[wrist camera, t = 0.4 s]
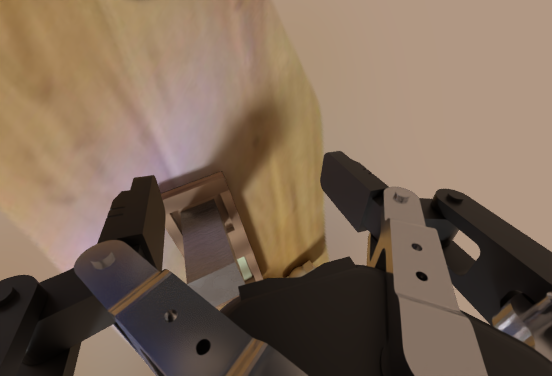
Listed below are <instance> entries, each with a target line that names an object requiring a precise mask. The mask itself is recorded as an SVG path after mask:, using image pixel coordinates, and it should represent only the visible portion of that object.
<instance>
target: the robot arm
mask: <svg viewBox="0 0 552 376" xmlns="http://www.w3.org/2000/svg"><path fill="white" fill-rule="evenodd" d="M320 183H321V187H322V189H323V191H324V192H325V193H326V194H327V196H328V197H329V198H330V199H331V201H332V202H333V203H334V204H335V205H336V207H337V208H338V209H339V210H340V211H341V213H342V214H343V215H344V216H345V218H346V219H347V220H348V221H349V222H350V223H351V225H352V226H353V227H354V228H355V230H356V231H357V232H362V231H366V230H368V231H369V232H370V233H369V236H368V248H367V266H364V265H355V264H354V262H353V261H352V260H351V258H350V257H346V258H342V259H338V260H334V261H331V262H327V263H324V264H322V265H321V266H319V267H317V268H315V269H314V270H312V271H310V272H309V273H307V274H305V275H303V276H301V277H292V278H267V279H263V280H260V281H256V282H252V283H249V284H245V285H241V286H238V290H239V296H238V297H237V298H235V299H233V300H232V301H231V302H229V303H228V304H226V305H225V306H224V307H223V308H222V309H221V310H220V311H219V310H218V309H216V308H215V307H214V306H213V305H211V304H210V303H209V302H208V301H207V300H205V299H204V298H203V297H202V296H200V295H199V294H198V293H197V292H195V291H194V290H193V289H192V288H190V287H189V286H188V285H187V284H185V283H184V282H183V281H182V280H181V279H179V278H178V277H177V276H176V275H174V274H173V273H172V272H170V271H169V270H167V269H164V270H163V271H162V262H163V248H164V234H165V220H166V213H165V207H164V203H163V200H162V197H161V193H160V190H159V187H158V184H157V181H156V178H155V176H154V175H151V176H144V177H136V178H134V179H133V182H132V186H131V189H130V190H129V191H122V192H121V193H120V194H119V195H118V196H117V197H116V198H115V199H114V200H113V202H112V205H111V208H110V211H109V213H108V216H107V217H108V218H107V219H106V221H105V224H104V227H103V229H102V232H101V235H100V238H99V240H98V243H97V244H96V245H94V246H92V247H91V248H89V249H87V250H86V251H85V252H84V253H82V254H81V255H80V257H79V258H78V259H77V261H76V262H75V265H74V268H72V269H71V270H68V271H66V272H64V273H61V274H59V275H57V276H54V277H52V278H49V279H47V280H45V281H42V282H40V283H39V282H38V281H37V280H36V279H35V278H34V277H32V276H29V275H18V276H14V277H10V278H7V279H4V280H1V281H0V376H73V375H74V370H75V366H76V362H77V357H78V354H79V350H80V346H81V342H82V341H83V340H85V339H87V338H89V337H91V336H92V335H94V334H96V333H98V332H100V331H101V330H103V329H105V328H107V327H109V326H111V325H112V324H113V325H114V326H115V327H116V328H117V329H118V331H119V332H120V333H121V334H122V335H123V336H124V338H125V339H126V340H127V341H128V342H129V344H130V345H131V346H132V347H133V348H134V349H135V351H136V352H137V353H138V354H139V355H140V356H141V358H142V359H143V360H144V361H145V363H146V364H147V365H148V366H149V368H150V369H151V370H152V371H153V373H154V374H155V375H156V376H552V252H551V251H549V250H547V249H546V248H545V247H543V246H542V245H540V244H539V243H537V242H536V241H534V240H533V239H531V238H530V237H528V236H527V235H525V234H524V233H522V232H520V231H519V230H518V229H516V228H515V227H513V226H512V225H510V224H509V223H507V222H506V221H504V220H503V219H501V218H500V217H498V216H497V215H495V214H494V213H492V212H491V211H489V210H488V209H486V208H485V207H483V206H482V205H480V204H479V203H477V202H476V201H474V200H473V199H471V198H470V197H468V196H467V195H465V194H463V193H461V192H458V191H455V190H451V189H439V190H438V191H436V194H435V195H434V197H433V199H423V198H419V197H418V196H417V195H416V194H415V193H413V192H412V191H410V190H407V189H404V188H401V187H388V186H387V185H386V184H385V183H383V182H382V181H381V180H380V179H379V178H377V177H376V176H375V175H374V174H372V173H371V172H370V171H369V170H366V168H365V167H364V166H362V165H361V164H360V163H358V162H356V161H354V160H352V159H350V158H349V157H348V156H346V155H345V154H344V153H343V152H341V151H336V152H328V153H326V154H325V155H324V159H323V165H322V172H321V178H320ZM459 230H461V231H462V232H463V233H464V234H465V235H467V236H468V237H469V238H470V239H472V240H473V241H474V242H475V243H476V244H477V245H478V246H479V248H480V256H479V258H478V259H477V260H476V261H475V260H474V259H473V258H471V256H469V255H468V254H467V253H466V252H465V251H464V250H463V249H461V248H460V247H459V246H458V245H457V244H456V243H455V242H454V241H452V240H453V238H454V237H455V235H456V234H457V232H458V231H459ZM452 284H453V285H454V286H455V288H456V289H457V290H458V291H459V292H460V293H461V294H462V295H463V296H464V297H465V298H466V299H467V300H468V301H469V302H470V303H471V304H472V306H473V307H474V308H475V309H476V310H477V311H478V312H479V313H480V314H481V315H482V316H483V317H484V318H485V319H486V320H487V321H488V323H489V324H490V325H489V324H487V323H485V322H483V321H481V320H479V319H477V318H475V317H473V316H471V315H469V314H467V313H465V312H463V311H461V310H460V309H459V307H458V304H457V300H456V297H455V293H454V289H453V286H452Z"/></svg>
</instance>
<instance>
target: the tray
mask: <svg viewBox="0 0 552 376" xmlns="http://www.w3.org/2000/svg"><path fill="white" fill-rule="evenodd" d="M161 197H162V200H163V203H164V207H165V213H166V220H165V228H166V230H167V231H168V233H169V234H170V236H171V238H172V239H173V241H174V242H175V244H176V246H177V247H178V249H179V250H180V252H181V254H182V255H183V257H184V246H183V235H182V225H181V214H180V212H182V211H184V210H187V209H190V208H192V207H195V206H197V205H200V204H202V203H205V202H207V201H210V200H212V199H214V200H215V203H216V205H217V207H218V210H219V212H220V214H221V216H222V219H223V221H224V223H225V226H226V229H227V232H228V235H229V238H230V240H231V243H232V246H233V249H234V252H235V255H236V258H237V260H238V263H239V266H240V269H241V272H242V275H243V278H244V280H245V283H246V284H249V283H252V282H256V281H260V280H263V277H262V275H261V272H260V270H259V267H258V264H257V262H256V259H255V256H254V254H253V251H252V249H251V246H250V243H249V241H248V238H247V235H246V233H245V230H244V227H243V225H242V222H241V220H240V217H239V214H238V212H237V209H236V206H235V204H234V201H233V199H232V196H231V193H230V191H229V188H228V185H227V183H226V180H225V178H224V175H223V173H222V171H221V172H218V173H216V174H213V175H210V176H208V177H205V178H202V179H199V180H197V181H194V182H191V183H189V184H186V185H183V186H181V187H178V188H175V189H172V190H170V191H167V192H164V193H162V194H161ZM184 258H185V257H184ZM238 296H239V295H238ZM238 296H236V297H234V298H232V299H230V300H228V301H226V302H224V303H222V304H220V305H218V306H216V307H215V308H216V309H217V308H219V307H221V306H223V305H225V304H227V303H229V302H231V301H232V300H233V299H235V298H237V297H238Z"/></svg>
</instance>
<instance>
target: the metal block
mask: <svg viewBox="0 0 552 376" xmlns="http://www.w3.org/2000/svg"><path fill="white" fill-rule="evenodd" d="M180 214H181V225H182V235H183V246H184V257H185V267H186V278H187V285H188V286H189V287H190V288H192V289H193V290H194V291H195V292H197V293H198V294H199V295H200V296H202V297H203V298H204V299H205V300H207V301H208V302H209V303H210V304H211V305H213V306H214V307H216V306H218V305H220V304H222V303H224V302H226V301H228V300H230V299H232V298H234V297H236V296H238V295H239V290H238V286H241V285H245V284H246V283H245V280H244V278H243V275H242V272H241V269H240V266H239V263H238V260H237V258H236V255H235V252H234V249H233V246H232V243H231V240H230V238H229V235H228V232H227V229H226V226H225V223H224V221H223V219H222V216H221V214H220V212H219V210H218V207H217V205H216V203H215V200H214V199H212V200H210V201H207V202H205V203H202V204H200V205H197V206H195V207H192V208H190V209H187V210H184V211H182V212H180Z"/></svg>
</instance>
